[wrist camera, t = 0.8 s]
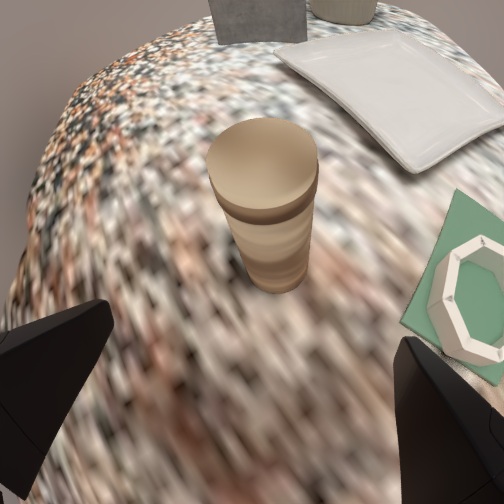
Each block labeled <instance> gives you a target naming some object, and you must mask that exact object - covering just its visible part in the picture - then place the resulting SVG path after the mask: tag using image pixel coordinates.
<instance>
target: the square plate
mask: <svg viewBox="0 0 504 504" xmlns="http://www.w3.org/2000/svg"><path fill="white" fill-rule="evenodd" d="M273 54H274V55H275V56H276V57H278V58H279V59H280V60H281V61H283V62H284V63H285V64H287V65H288V66H289V67H290V68H292V69H293V70H294V71H296V72H297V73H299V74H300V75H301V76H303V77H304V78H306V79H307V80H309V81H310V82H311V83H313V84H314V85H315V86H317V87H318V88H319V89H321V90H322V91H323V92H324V93H326V94H327V95H328V96H329V97H331V98H332V99H333V100H334V101H335V102H337V103H338V104H339V105H340V106H341V107H342V108H343V109H345V110H346V111H347V112H348V113H349V114H350V115H351V116H352V117H353V118H354V119H355V120H356V121H357V122H358V123H359V124H360V125H361V126H362V127H363V128H364V129H365V130H366V131H367V132H368V133H369V134H370V135H371V136H372V137H373V138H374V139H375V140H376V141H377V142H378V143H379V144H380V145H381V146H382V147H383V148H384V149H385V150H386V151H387V152H388V153H389V154H390V155H391V156H392V157H393V158H394V159H395V160H396V161H397V162H398V163H399V164H400V165H401V166H402V167H403V168H404V169H405V170H407V171H408V172H410V173H412V174H418V173H420V172H423V171H425V170H427V169H428V168H430V167H432V166H434V165H435V164H437V163H438V162H440V161H441V160H443V159H445V158H446V157H447V156H449V155H450V154H452V153H454V152H455V151H457V150H458V149H460V148H461V147H463V146H464V145H466V144H468V143H469V142H471V141H473V140H474V139H476V138H478V137H480V136H481V135H483V134H485V133H487V132H490V131H492V130H494V129H496V128H499V127H501V126H504V106H503V105H502V104H501V103H500V102H499V101H498V100H496V99H495V98H494V97H493V96H492V95H491V94H490V93H489V92H488V91H487V90H486V89H484V88H483V87H482V86H481V85H480V84H479V83H478V82H476V81H475V80H474V79H473V78H471V77H470V76H469V75H468V74H466V73H465V72H464V71H463V70H461V69H460V68H459V67H457V66H456V65H454V64H453V63H452V62H450V61H449V60H447V59H446V58H444V57H443V56H441V55H440V54H438V53H437V52H435V51H434V50H432V49H430V48H429V47H427V46H425V45H424V44H422V43H420V42H418V41H417V40H415V39H413V38H411V37H409V36H408V35H406V34H404V33H402V32H400V31H398V30H374V31H362V32H354V33H347V34H340V35H334V36H329V37H324V38H319V39H314V40H310V41H306V42H302V43H298V44H294V45H291V46H287V47H283V48H280V49H277V50H274V51H273Z"/></svg>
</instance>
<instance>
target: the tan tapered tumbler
mask: <svg viewBox="0 0 504 504" xmlns="http://www.w3.org/2000/svg"><path fill="white" fill-rule="evenodd" d="M206 161H207V169H208V172H209V179H210V183H211V186H212V188H213V191H214V193H215V196H216V198H217V201H218V203H219V205H220V206H221V208H222V209H223V211H224V214H225V216H226V219H227V221H228V224H229V227H230V229H231V232H232V234H233V237H234V240H235V242H236V245H237V247H238V250H239V252H240V255H241V258H242V260H243V263H244V265H245V268H246V270H247V273H248V275H249V278H250V279H251V281H252V282H253V284H254V285H255V286H256V287H258V288H259V289H261V290H263V291H265V292H268V293H273V294H281V293H285V292H288V291H291V290H293V289H294V288H296V287H297V286H298V285H299V284H300V283H301V282H302V281H303V279H304V277H305V275H306V272H307V267H308V258H309V249H310V240H311V230H312V220H313V209H314V197H315V194H316V191H317V185H318V173H319V164H318V159H317V147H316V144H315V142H314V140H313V138H312V137H311V136H310V134H309V133H308V132H307V131H306V130H304V129H303V128H302V127H300V126H298V125H297V124H295V123H292V122H290V121H287V120H283V119H278V118H255V119H250V120H246V121H243V122H240V123H237V124H235V125H233V126H231V127H229V128H228V129H226V130H225V131H223V132H222V133H221V134H220V135H219V136H218V137H217V138H216V139H215V140H214V141H213V143H212V144H211V146H210V148H209V150H208V154H207V160H206Z"/></svg>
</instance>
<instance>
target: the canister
mask: <svg viewBox="0 0 504 504" xmlns="http://www.w3.org/2000/svg"><path fill="white" fill-rule="evenodd" d="M377 1H378V0H309V3H310V7H311V9H312V12H313V13H314V15H315V16H316V17H318V18H320V19H322V20H325V21H328V22H332V23H338V24H344V25H364V24H367V23H369V22H370V21H371V20H372V19H373V17H374V14H375V10H376V6H377Z"/></svg>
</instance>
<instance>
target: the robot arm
mask: <svg viewBox="0 0 504 504" xmlns="http://www.w3.org/2000/svg"><path fill="white" fill-rule="evenodd" d="M113 327H114V319H113V315H112V312H111V308H110V305H109V303H108V301H106V300H103V299H94V300H91V301H88V302H86V303H83V304H80V305H77V306H75V307H72V308H69V309H66V310H64V311H61V312H58V313H55V314H53V315H50V316H47V317H44V318H42V319H39V320H36V321H33V322H31V323H28V324H25V325H23V326H20V327H17V328H14V329H12V330H10V331H6V332H4V333H1V334H0V483H1V484H2V485H4V486H5V487H6V488H8V489H9V490H10V491H11V492H13V493H14V494H15V495H17V496H18V497H20V498H21V499H22V500H24V501H25V500H26V499H27V497H28V495H29V492H30V490H31V488H32V485H33V483H34V481H35V479H36V477H37V474H38V472H39V470H40V468H41V466H42V464H43V462H44V459H45V456H46V455H47V453H48V451H49V449H50V447H51V445H52V443H53V441H54V439H55V437H56V435H57V433H58V431H59V429H60V427H61V425H62V423H63V421H64V420H65V418H66V416H67V414H68V412H69V410H70V408H71V407H72V405H73V403H74V401H75V399H76V398H77V396H78V394H79V392H80V391H81V389H82V387H83V385H84V384H85V382H86V380H87V378H88V377H89V375H90V373H91V371H92V370H93V368H94V366H95V365H96V363H97V361H98V359H99V357H100V355H101V352H102V350H103V348H104V346H105V344H106V342H107V340H108V338H109V336H110V334H111V332H112V330H113ZM393 371H394V399H395V417H396V426H397V435H398V445H399V457H400V471H401V495H402V504H504V417H503V416H502V415H501V414H500V413H499V412H498V411H497V410H496V409H495V408H494V407H492V406H491V405H490V404H489V403H488V402H487V401H486V400H485V399H484V398H483V397H482V396H481V395H480V394H479V393H478V392H477V391H476V390H475V389H474V388H473V387H472V386H470V385H469V384H468V383H467V382H466V381H465V380H464V379H463V378H462V377H461V376H460V375H459V374H458V373H456V372H455V371H454V370H453V369H452V368H451V367H450V366H449V365H448V364H447V363H445V362H444V361H443V360H442V359H441V358H440V357H439V356H438V355H437V354H435V353H434V352H433V351H432V350H431V349H430V348H429V347H428V346H426V345H425V344H424V343H423V342H422V341H421V340H420V339H419V338H417V337H415V336H405V337H403V338H402V339H401V341H400V344H399V347H398V350H397V352H396V355H395V358H394V362H393ZM491 407H492V408H491ZM0 504H4V502H3V496H2V492H1V491H0Z"/></svg>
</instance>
